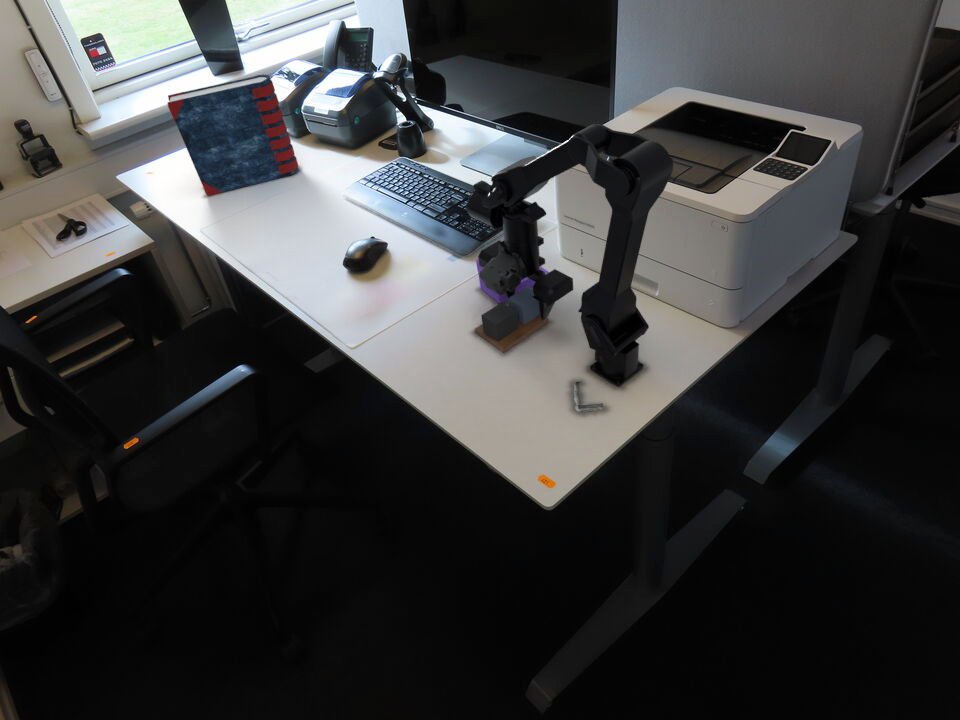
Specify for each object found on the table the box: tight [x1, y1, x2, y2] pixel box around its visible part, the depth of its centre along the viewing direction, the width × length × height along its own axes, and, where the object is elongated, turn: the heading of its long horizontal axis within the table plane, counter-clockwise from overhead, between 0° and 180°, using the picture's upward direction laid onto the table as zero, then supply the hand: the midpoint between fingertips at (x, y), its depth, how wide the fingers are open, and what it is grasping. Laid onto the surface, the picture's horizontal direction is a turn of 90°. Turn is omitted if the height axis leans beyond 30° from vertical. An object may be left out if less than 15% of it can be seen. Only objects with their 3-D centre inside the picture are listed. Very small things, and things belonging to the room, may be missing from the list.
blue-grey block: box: [507, 286, 540, 325], centre depth 122 cm, size 4×5×4 cm
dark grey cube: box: [480, 302, 519, 342], centre depth 119 cm, size 4×5×4 cm
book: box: [167, 74, 300, 197], centre depth 172 cm, size 25×7×25 cm, turn 108°
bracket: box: [475, 258, 550, 304], centre depth 130 cm, size 12×7×7 cm, turn 123°
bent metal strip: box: [572, 379, 604, 413], centre depth 107 cm, size 7×1×5 cm
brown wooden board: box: [474, 315, 549, 353], centre depth 122 cm, size 8×11×1 cm
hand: (527, 308), depth 123 cm, fingers open, 8 cm apart
